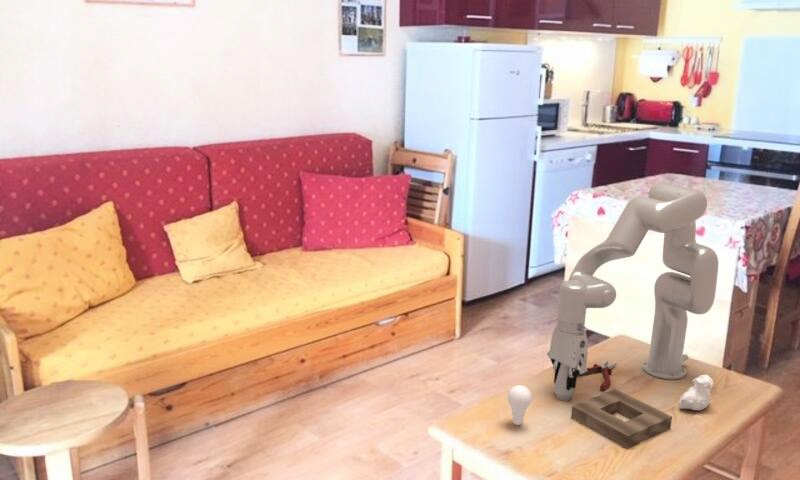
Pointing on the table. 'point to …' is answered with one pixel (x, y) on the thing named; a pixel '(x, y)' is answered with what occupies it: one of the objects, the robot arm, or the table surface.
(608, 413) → the walnut stand
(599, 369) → the pliers
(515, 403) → the lightbulb
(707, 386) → the bust
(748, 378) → the table surface
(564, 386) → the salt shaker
